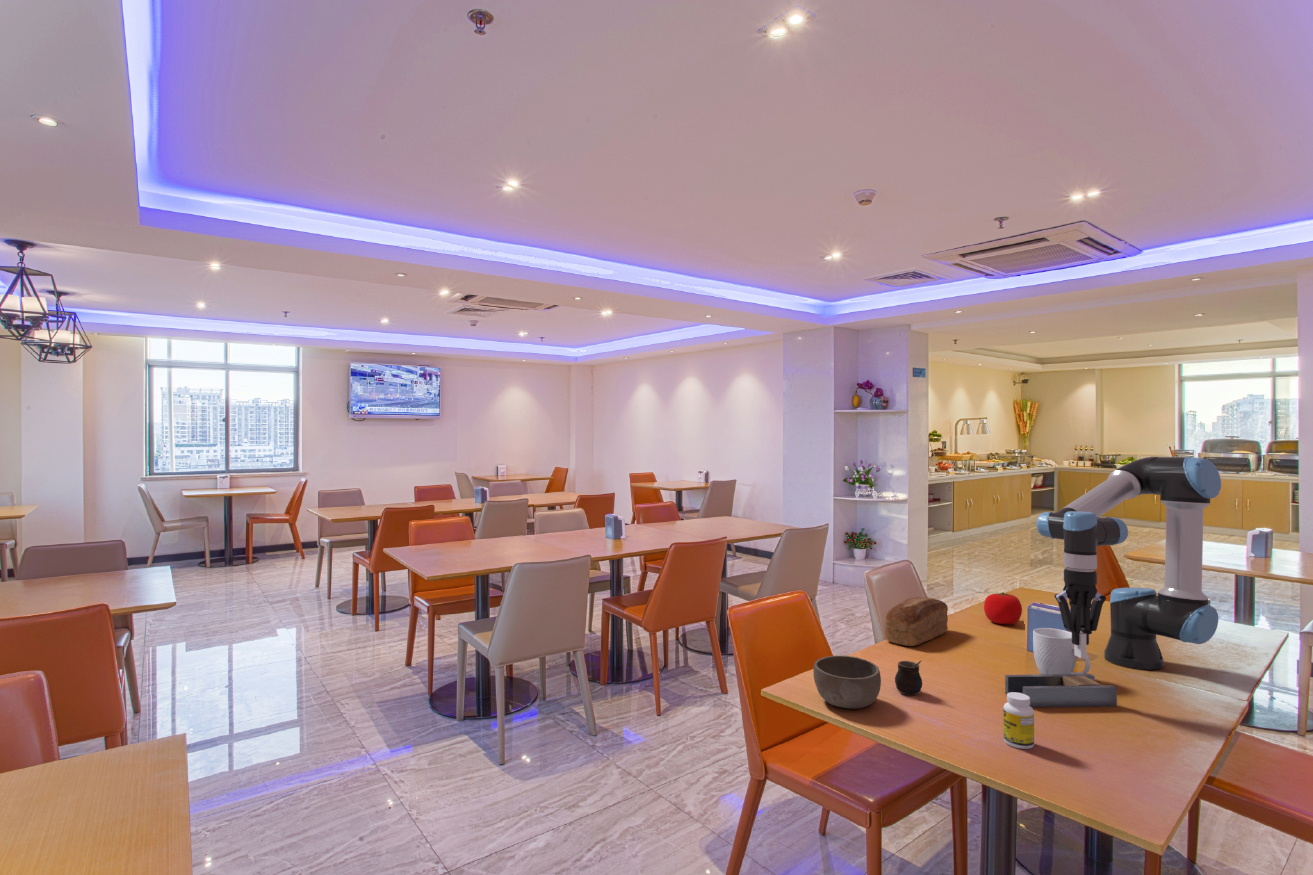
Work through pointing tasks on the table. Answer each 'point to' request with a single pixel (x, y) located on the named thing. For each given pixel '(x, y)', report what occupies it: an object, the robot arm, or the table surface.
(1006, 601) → the tomato
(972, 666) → the table surface
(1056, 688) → the chute
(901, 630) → the bread
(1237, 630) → the table surface
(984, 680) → the table surface
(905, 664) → the mate gourd
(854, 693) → the bowl
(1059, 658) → the mug
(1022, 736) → the pill bottle
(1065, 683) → the block
